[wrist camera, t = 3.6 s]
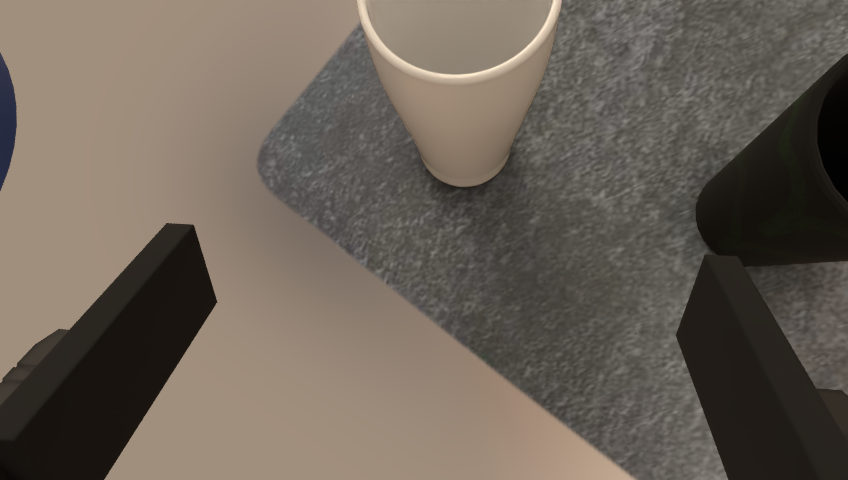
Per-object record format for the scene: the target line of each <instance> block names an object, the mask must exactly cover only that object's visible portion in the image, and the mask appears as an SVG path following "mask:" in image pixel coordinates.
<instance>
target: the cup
mask: <svg viewBox="0 0 848 480" xmlns="http://www.w3.org/2000/svg"><path fill="white" fill-rule="evenodd" d="M696 221H697V225H698V229H699V231H700V234H701V236H702V238H703V240H704V241H705V242H706V243H707V245H708V246H709V247H710V248H711V250H713V251H714V252H715V253H716V254H718V255H722V256H738V258H739V259H740V261H741V263H742V264H743V266H773V265H789V264H805V263H821V262H836V261H848V54H846V55H845V56H843V57H842V58H841V59H840V60H839V61H838V62H837V63H836V64H835V65H833V66H832V67H831V68H830V69H829V70H828V71H827V72H826V73H825V74H824V75H822V76H821V77H820V78H819V79H818V80H817V81H816V82H815V83H814V84H813V85H812V86H811V87H810V88H809V89H808V90H806V91H805V92H804V93H803V94H802V95H801V96H800V97H799V98H798V99H797V100H796V101H795V102H794V103H793V104H792V105H790V106H789V107H788V108H787V109H786V110H785V111H784V112H783V113H782V114H781V115H780V116H779V117H778V118H777V119H776V120H774V121H773V122H772V123H771V124H770V125H769V126H768V127H767V128H766V129H765V130H764V131H763V132H762V133H761V134H760V135H758V136H757V137H756V138H755V139H754V140H753V141H752V142H751V143H750V144H749V145H748V146H747V147H746V148H745V149H744V150H742V151H741V152H740V153H739V154H738V155H737V156H736V157H735V158H734V159H733V160H732V161H731V162H730V163H729V164H728V165H726V166H725V167H724V168H723V169H722V170H721V171H720V172H719V173H718V174H717V175H716V176H715V177H714V178H713V179H712V180H710V181H709V182H708V183H707V184H706V186H705V187H704V189H703V190H702V192H701V193H700V195H699V198H698V202H697V205H696Z"/></svg>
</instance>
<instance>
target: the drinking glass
mask: <svg viewBox="0 0 848 480" xmlns="http://www.w3.org/2000/svg"><path fill="white" fill-rule="evenodd" d="M561 4H562V0H357V7H358V12H359V17H360V21H361V24H362V28H363V32H364V36H365V39H366V43H367V46H368V49H369V53H370V56H371V59H372V62H373V64H374V67H375V70H376V72H377V75H378V77H379V79H380V82H381V84H382V86H383V88H384V90H385V92H386V94H387V96H388V98H389V100H390V102H391V103H392V105H393V107H394V109H395V110H396V112H397V114H398V115H399V117H400V119H401V120H402V122H403V124H404V126H405V127H406V129H407V131H408V132H409V134H410V136H411V138H412V139H413V141H414V143H415V145H416V146H417V148H418V150H419V153H420V156H421V159H422V161H423V163H424V165H425V166H426V168H427V169H428V170H429V172H430V173H431V174H432V175H433V176H435V177H436V178H437V179H439V180H440V181H442V182H444V183H446V184H449V185H452V186H457V187H471V186H476V185H480V184H482V183H485V182H487V181H488V180H490V179H492V178H493V177H494V176H495V175H497V174H498V173H499V172H500V170H501V169H502V168H503V167H504V165H505V164H506V162H507V160H508V157H509V155H510V151H511V147H512V144H513V142H514V139H515V137H516V135H517V133H518V131H519V129H520V127H521V124H522V122H523V120H524V118H525V116H526V114H527V112H528V110H529V108H530V106H531V104H532V102H533V100H534V97H535V95H536V93H537V91H538V89H539V86H540V84H541V81H542V79H543V76H544V74H545V71H546V68H547V65H548V62H549V58H550V55H551V52H552V48H553V44H554V40H555V35H556V31H557V25H558V20H559V14H560V9H561Z"/></svg>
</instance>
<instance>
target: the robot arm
mask: <svg viewBox="0 0 848 480" xmlns="http://www.w3.org/2000/svg"><path fill="white" fill-rule="evenodd" d="M216 303H217V300H216V296H215V293H214V290H213V287H212V283H211V280H210V277H209V274H208V270H207V267H206V264H205V260H204V257H203V254H202V251H201V248H200V244H199V241H198V237H197V234H196V231H195V227H194V225H189V224H188V225H187V224H172V223H171V224H170V223H166V225H165V226H164V227H163V228H162V229H161V230H160V231H159V232H158V233H157V234H156V235H155V237H154V238H153V239H152V240H151V241H150V242H149V243H148V244H147V245H146V246H145V248H144V249H143V250H142V251H141V252H140V253H139V254H138V255H137V256H136V257H135V259H134V260H133V261H132V262H131V263H130V264H129V265H128V266H127V267H126V269H124V271H123V272H122V273H121V274H120V275H119V276H118V277H117V278H116V279H115V280H114V282H113V283H112V284H111V285H110V286H109V287H108V288H107V289H106V290H105V291H104V293H103V294H102V295H101V296H100V297H99V298H98V299H97V300H96V301H95V302H94V303H93V305H92V306H91V307H90V308H89V309H88V310H87V311H86V312H85V313H84V314H83V316H82V317H81V318H80V319H79V320H78V321H77V322H76V323H75V324H74V326H73V327H72V328H71V329H70V330H63V329H58V330H57V331H55V332H54V333H52V334H51V335H49V336H47V337H46V338H45V339H43V340H41V341H40V342H38V343H37V344H35V345H34V346H33V347H32V348H31V349H30V350H29V351H28V352H27V354H26V355H25V356H24V357H23V358H22V359H21V360H20V361H19V362H18V363H17V367H13V368H12V369H11V370H10V371H9V372H8V374H6V376H5V377H4V378H3V381H2V383H0V480H104V479H105V477H106V476H107V474H108V473H109V471H110V470H111V468H112V466H113V465H114V463H115V462H116V460H117V459H118V457H119V456H120V454H121V452H122V451H123V449H124V448H125V446H126V444H127V443H128V441H129V440H130V438H131V436H132V435H133V434H134V432H135V430H136V429H137V427H138V425H139V424H140V422H141V421H142V419H143V417H144V416H145V415H146V413H147V412H148V410H149V408H150V407H151V405H152V404H153V402H154V401H155V399H156V397H157V396H158V394H159V393H160V391H161V389H162V388H163V386H164V385H165V383H166V382H167V380H168V378H169V377H170V375H171V374H172V372H173V371H174V369H175V368H176V366H177V364H178V363H179V361H180V360H181V358H182V357H183V355H184V353H185V352H186V350H187V349H188V347H189V346H190V344H191V342H192V341H193V339H194V337H195V336H196V335H197V333H198V331H199V330H200V328H201V327H202V325H203V324H204V322H205V320H206V319H207V317H208V316H209V314H210V313H211V311H212V309H213V308H214V306H215V305H216ZM676 337H677V340H678V343H679V345H680V348H681V351H682V354H683V356H684V359H685V362H686V364H687V367H688V370H689V373H690V375H691V378H692V381H693V384H694V386H695V389H696V392H697V395H698V397H699V400H700V403H701V406H702V408H703V411H704V414H705V416H706V419H707V422H708V425H709V427H710V430H711V433H712V436H713V438H714V441H715V444H716V447H717V449H718V452H719V455H720V458H721V460H722V463H723V466H724V469H725V471H726V474H727V477H728V479H729V480H848V396H847V395H846V394H845V393H844V392H843V391H841V390H829V389H817V388H816V387H815V386H814V384H813V382H812V381H811V379H810V377H809V376H808V374H807V372H806V371H805V369H804V367H803V366H802V364H801V362H800V360H799V359H798V357H797V355H796V354H795V352H794V350H793V349H792V347H791V345H790V344H789V342H788V340H787V339H786V337H785V335H784V333H783V332H782V330H781V328H780V327H779V325H778V323H777V322H776V320H775V318H774V317H773V315H772V313H771V312H770V310H769V308H768V306H767V305H766V303H765V301H764V300H763V298H762V296H761V295H760V293H759V291H758V290H757V288H756V286H755V285H754V283H753V281H752V279H751V278H750V276H749V274H748V273H747V271H746V269H745V268H744V266H743V264H742V263H741V261H740V259H739V258H738V256H722V255H705V256H704V258H703V261H702V264H701V267H700V270H699V272H698V275H697V278H696V281H695V283H694V286H693V289H692V292H691V295H690V297H689V300H688V303H687V306H686V309H685V311H684V314H683V317H682V320H681V323H680V325H679V328H678V331H677V334H676Z"/></svg>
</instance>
